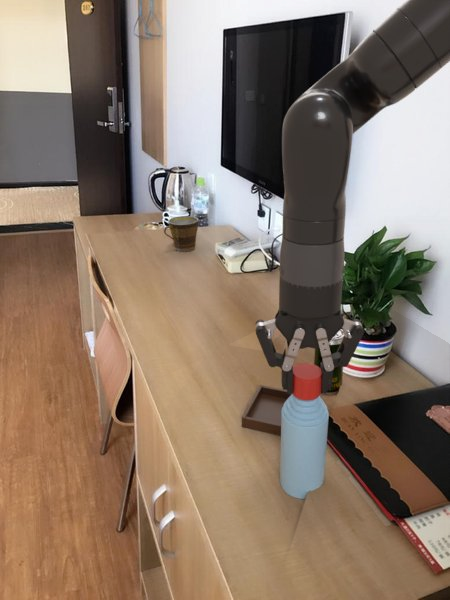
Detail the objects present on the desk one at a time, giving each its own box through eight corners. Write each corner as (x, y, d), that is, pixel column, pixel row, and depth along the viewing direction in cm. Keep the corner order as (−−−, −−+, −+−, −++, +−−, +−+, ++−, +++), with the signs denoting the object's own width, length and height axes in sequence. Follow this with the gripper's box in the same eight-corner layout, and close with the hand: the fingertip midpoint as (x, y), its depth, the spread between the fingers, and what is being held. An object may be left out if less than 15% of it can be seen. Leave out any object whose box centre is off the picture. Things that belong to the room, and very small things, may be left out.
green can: (309, 381, 98) (311, 327, 93) (335, 378, 99) (339, 324, 94) (318, 397, 93) (321, 341, 88) (345, 393, 94) (350, 338, 89)
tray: (318, 405, 91) (319, 396, 90) (305, 441, 83) (306, 431, 82) (259, 393, 95) (259, 384, 94) (241, 426, 86) (241, 417, 86)
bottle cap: (299, 403, 65) (300, 382, 64) (286, 387, 69) (286, 366, 67) (326, 396, 66) (327, 375, 65) (311, 380, 70) (312, 360, 68)
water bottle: (327, 472, 76) (335, 367, 68) (318, 504, 71) (326, 394, 63) (286, 462, 78) (289, 359, 70) (274, 492, 73) (276, 384, 65)
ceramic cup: (187, 242, 177) (185, 214, 172) (206, 248, 170) (204, 219, 166) (157, 251, 169) (154, 222, 165) (175, 258, 162) (173, 228, 158)
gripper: (365, 259, 63) (354, 374, 70) (251, 260, 64) (252, 374, 71) (378, 283, 56) (365, 408, 64) (251, 285, 57) (252, 407, 64)
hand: (305, 389), depth 67 cm, fingers closed on bottle cap, 4 cm apart
